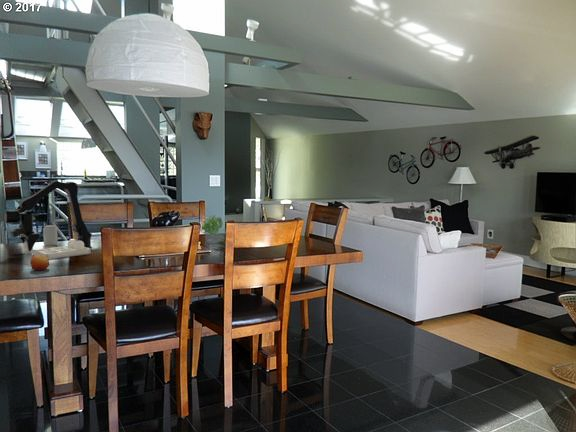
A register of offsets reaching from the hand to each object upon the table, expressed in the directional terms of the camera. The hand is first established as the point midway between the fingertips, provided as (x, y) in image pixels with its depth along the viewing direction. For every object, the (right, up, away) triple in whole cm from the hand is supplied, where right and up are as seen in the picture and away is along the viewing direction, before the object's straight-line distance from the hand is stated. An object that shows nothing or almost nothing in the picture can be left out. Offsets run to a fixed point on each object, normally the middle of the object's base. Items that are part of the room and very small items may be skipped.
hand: (27, 250), depth 252 cm
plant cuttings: (+97, +1, +48) cm, 108 cm away
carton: (+20, -2, -2) cm, 20 cm away
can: (-1, +1, +27) cm, 27 cm away
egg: (0, -2, 0) cm, 2 cm away
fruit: (+28, -6, -39) cm, 49 cm away
